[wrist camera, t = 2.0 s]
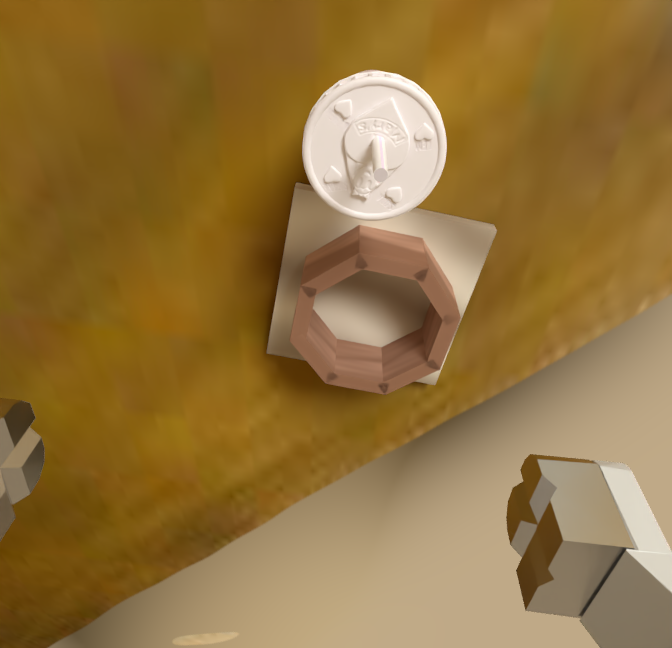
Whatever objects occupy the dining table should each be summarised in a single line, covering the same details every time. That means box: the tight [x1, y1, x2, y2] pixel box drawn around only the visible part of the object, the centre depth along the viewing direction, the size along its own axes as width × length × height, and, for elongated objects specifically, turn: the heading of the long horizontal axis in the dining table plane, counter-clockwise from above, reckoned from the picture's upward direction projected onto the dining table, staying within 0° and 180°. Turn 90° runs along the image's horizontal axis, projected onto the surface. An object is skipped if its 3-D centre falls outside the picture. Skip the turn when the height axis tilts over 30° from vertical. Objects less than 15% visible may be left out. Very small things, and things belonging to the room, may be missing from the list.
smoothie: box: [302, 70, 447, 221], centre depth 26 cm, size 6×6×14 cm
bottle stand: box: [266, 182, 497, 395], centre depth 37 cm, size 13×13×5 cm
